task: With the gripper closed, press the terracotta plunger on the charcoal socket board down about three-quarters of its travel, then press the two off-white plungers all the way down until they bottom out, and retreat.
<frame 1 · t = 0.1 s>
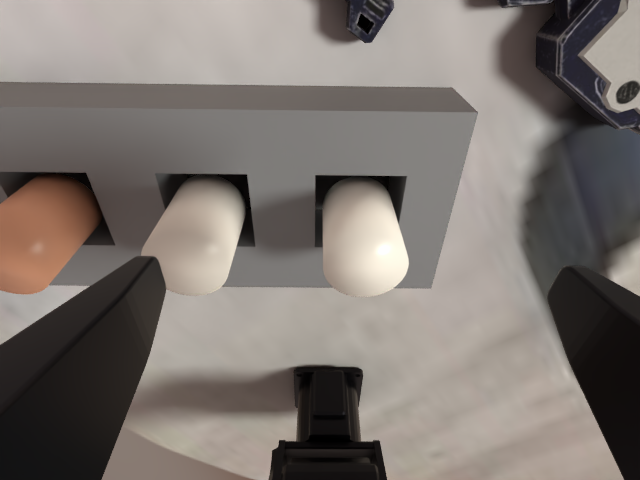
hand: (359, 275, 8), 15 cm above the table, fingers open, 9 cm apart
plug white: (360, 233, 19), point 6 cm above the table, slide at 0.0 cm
socket board: (224, 177, 23), on the table
plug terracotta: (38, 230, 18), point 6 cm above the table, slide at 0.0 cm
plug white mid: (200, 232, 19), point 6 cm above the table, slide at 0.0 cm
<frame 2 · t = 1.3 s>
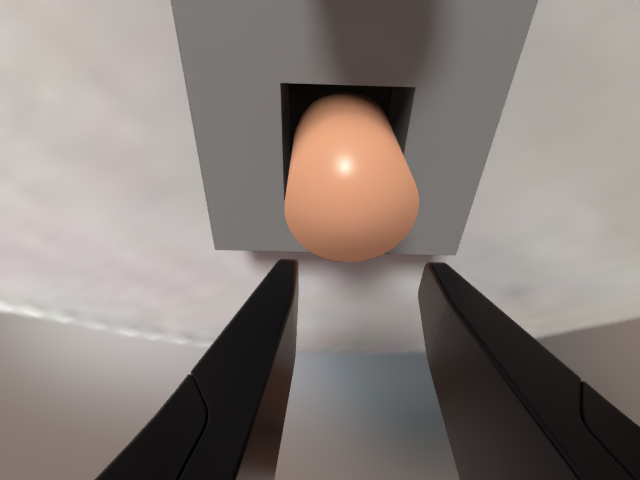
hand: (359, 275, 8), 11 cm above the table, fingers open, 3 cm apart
plug terracotta: (346, 170, 13), point 6 cm above the table, slide at 0.0 cm
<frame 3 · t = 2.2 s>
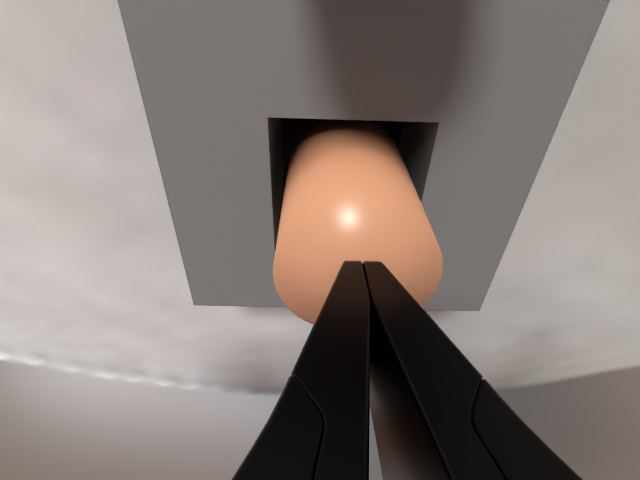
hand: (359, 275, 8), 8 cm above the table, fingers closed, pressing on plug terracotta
plug terracotta: (349, 216, 10), point 5 cm above the table, slide at 0.6 cm, touching gripper
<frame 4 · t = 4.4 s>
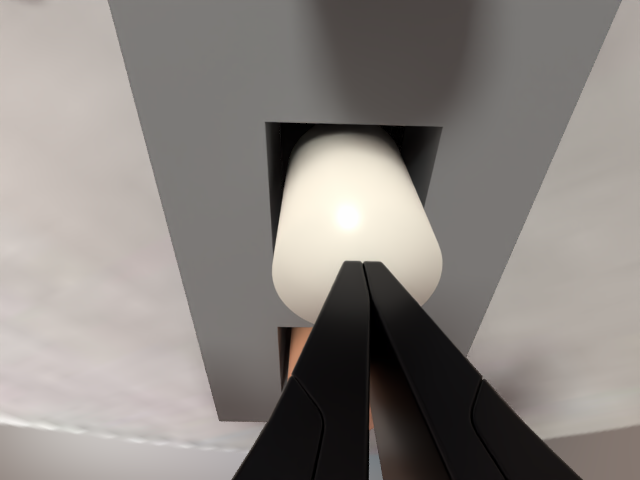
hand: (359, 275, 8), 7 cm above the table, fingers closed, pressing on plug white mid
socket board: (341, 146, 14), on the table
plug terracotta: (333, 356, 16), point 4 cm above the table, slide at 2.1 cm
plug white mid: (349, 215, 10), point 5 cm above the table, slide at 1.1 cm, touching gripper
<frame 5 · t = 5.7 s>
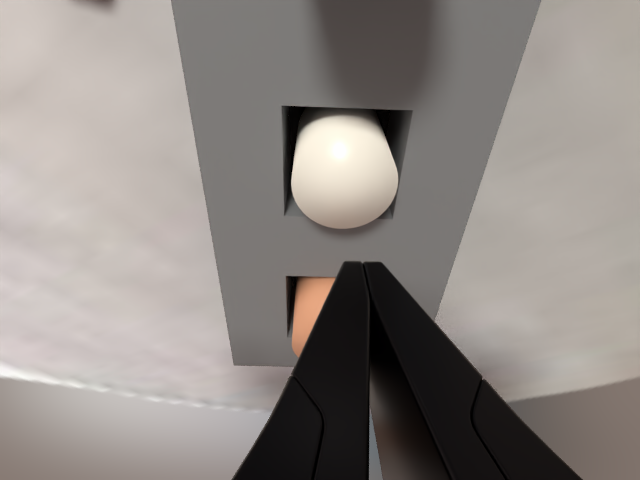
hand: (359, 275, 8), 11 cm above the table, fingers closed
socket board: (338, 130, 18), on the table
plug terracotta: (331, 305, 19), point 4 cm above the table, slide at 2.1 cm
plug white mid: (341, 155, 15), point 3 cm above the table, slide at 2.9 cm
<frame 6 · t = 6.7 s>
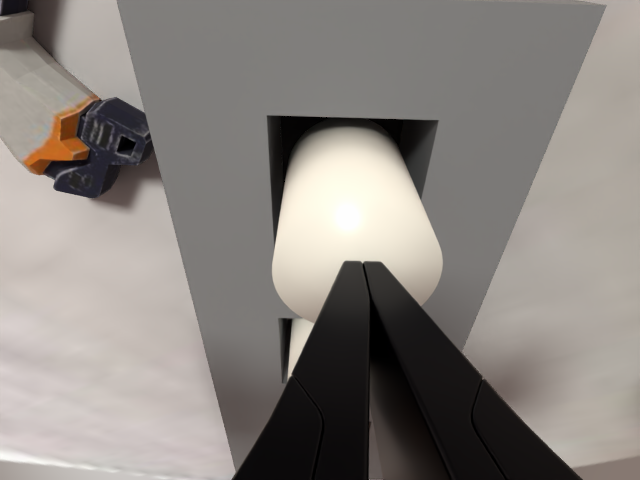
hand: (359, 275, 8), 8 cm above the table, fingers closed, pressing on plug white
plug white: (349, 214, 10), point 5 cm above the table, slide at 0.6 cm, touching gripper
socket board: (331, 289, 19), on the table
plug white mid: (332, 333, 17), point 3 cm above the table, slide at 2.9 cm
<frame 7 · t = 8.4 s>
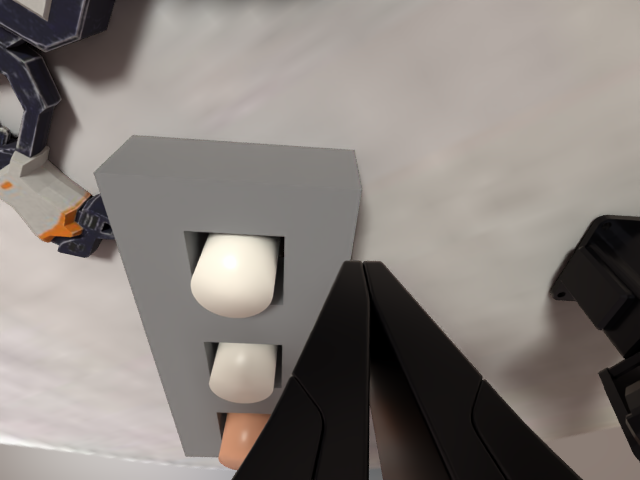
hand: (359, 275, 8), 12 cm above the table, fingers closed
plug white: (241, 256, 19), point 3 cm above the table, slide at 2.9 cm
socket board: (253, 317, 26), on the table
plug terracotta: (250, 424, 28), point 4 cm above the table, slide at 2.1 cm
toy gun: (11, 25, 16), on the table
plug white mid: (247, 351, 24), point 3 cm above the table, slide at 2.9 cm
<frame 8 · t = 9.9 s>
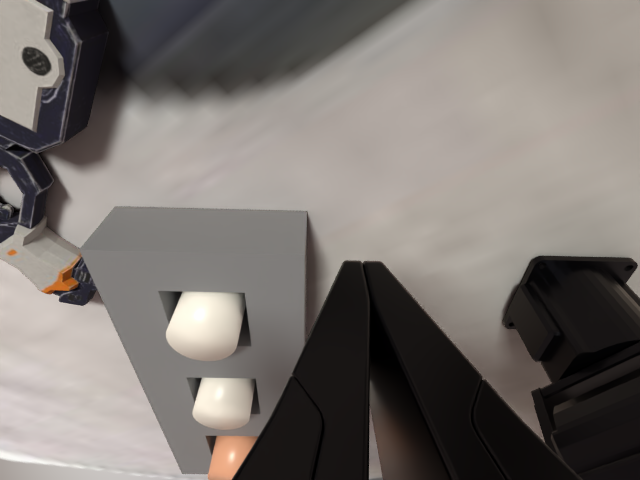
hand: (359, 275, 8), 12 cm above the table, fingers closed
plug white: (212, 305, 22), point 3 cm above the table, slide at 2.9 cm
socket board: (235, 349, 29), on the table
plug terracotta: (238, 445, 31), point 4 cm above the table, slide at 2.1 cm
toy gun: (10, 123, 19), on the table
plug white mid: (228, 382, 27), point 3 cm above the table, slide at 2.9 cm
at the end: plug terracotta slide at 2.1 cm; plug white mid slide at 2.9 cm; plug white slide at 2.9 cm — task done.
